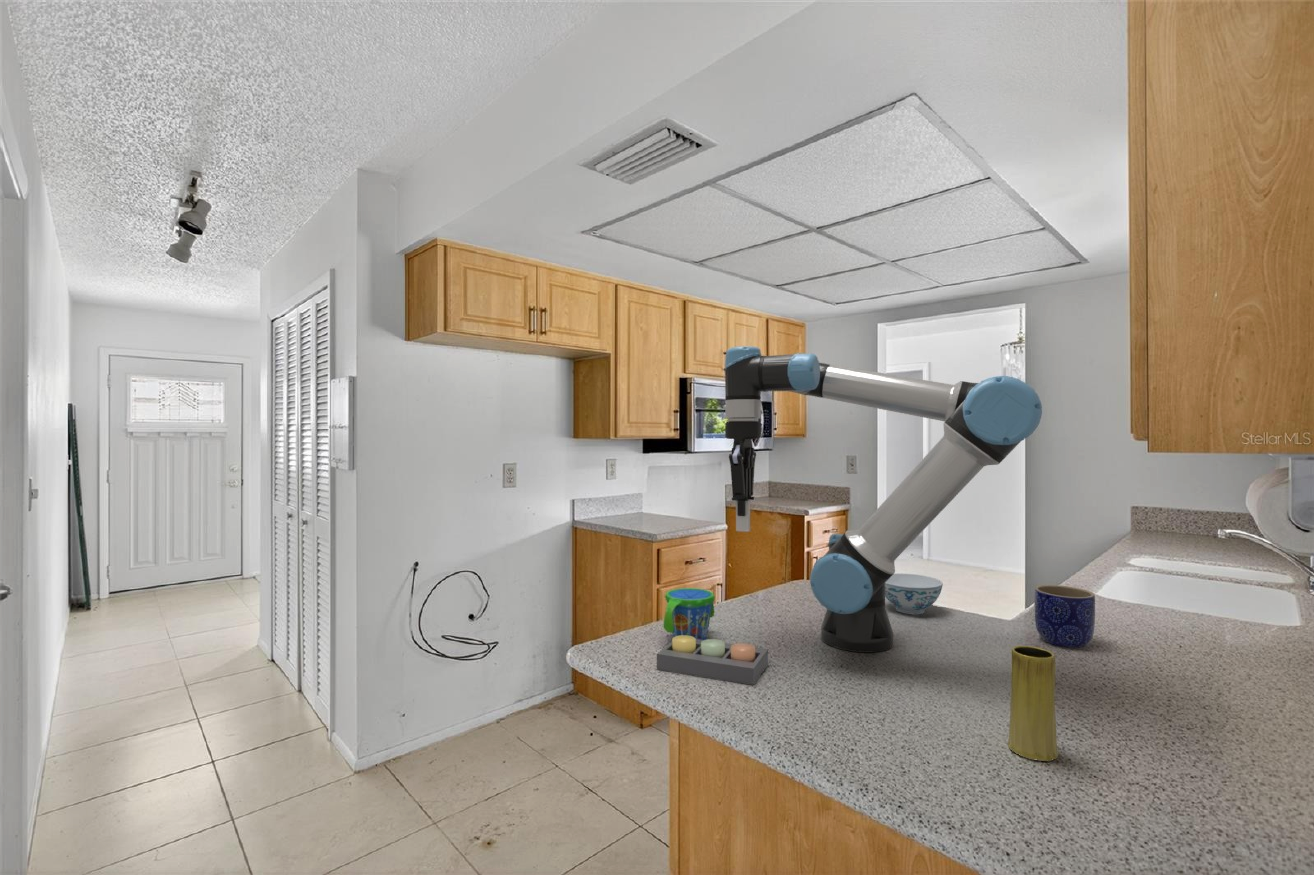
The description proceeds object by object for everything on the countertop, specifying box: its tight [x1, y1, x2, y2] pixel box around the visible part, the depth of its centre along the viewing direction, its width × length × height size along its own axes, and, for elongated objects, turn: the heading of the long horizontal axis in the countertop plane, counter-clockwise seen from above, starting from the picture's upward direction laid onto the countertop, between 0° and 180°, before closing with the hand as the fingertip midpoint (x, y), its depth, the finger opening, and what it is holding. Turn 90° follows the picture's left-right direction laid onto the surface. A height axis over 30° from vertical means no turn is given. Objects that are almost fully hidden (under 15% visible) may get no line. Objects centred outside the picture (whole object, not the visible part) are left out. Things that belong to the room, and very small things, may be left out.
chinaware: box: [885, 573, 943, 615], centre depth 159 cm, size 15×15×8 cm
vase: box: [1007, 645, 1059, 762], centre depth 89 cm, size 6×6×14 cm
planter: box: [1033, 584, 1096, 649], centre depth 134 cm, size 11×11×11 cm
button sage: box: [701, 638, 726, 658], centre depth 121 cm, size 5×5×4 cm
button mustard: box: [671, 635, 696, 653], centre depth 124 cm, size 5×5×4 cm
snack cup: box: [663, 587, 716, 640], centre depth 137 cm, size 16×10×10 cm
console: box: [656, 639, 769, 686], centre depth 121 cm, size 19×11×3 cm, turn 66°
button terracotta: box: [731, 642, 756, 663], centre depth 119 cm, size 5×5×4 cm
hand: (743, 530), depth 134 cm, fingers closed
